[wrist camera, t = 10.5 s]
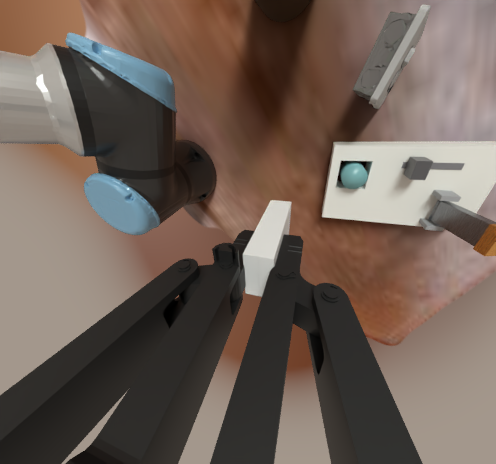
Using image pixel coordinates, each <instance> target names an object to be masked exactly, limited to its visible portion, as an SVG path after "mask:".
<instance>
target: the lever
mask: <svg viewBox="0 0 496 464" xmlns="http://www.w3.org/2000/svg"><path fill="white" fill-rule="evenodd" d="M428 220H430V221H433V222H434V223H436V224H438V225H439V226H441V227H443V228H444V229H446V230H448V231H449V232H451V233H453V234H454V235H456V236H458V237H460V238H461V239H463V240H465V241H466V242H468V243H470V244H471V245H473V246H475V247H474V248H473V249H474V250H475V251H477V252H479V253H480V254H482V255H484V256H496V222H494V221H492V220H489V219H487V218H485V217H483V216H481V215H478V214H476V213H474V212H472V211H470V210H467V209H465V208H463V207H461V206H458V205H456V204H454V203H452V202H450V201H439V200H437V202H436V204H435V206H434V208H433V210H432V212H431V214H430V216H429V218H428Z"/></svg>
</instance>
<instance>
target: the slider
mask: <svg viewBox="0 0 496 464" xmlns="http://www.w3.org/2000/svg"><path fill="white" fill-rule="evenodd" d="M432 164H433V161H432V160H430V159H428V158H426V157H410V158H409V160H408V163H407V166H406V168H405V171H404V175H405V176H406V177H407V178H408V179H410V180H425V179H426V177H427V175H428V173H429V170H430V168H431V166H432Z"/></svg>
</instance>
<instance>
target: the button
mask: <svg viewBox="0 0 496 464" xmlns="http://www.w3.org/2000/svg"><path fill="white" fill-rule="evenodd" d="M340 176H341V180H342V183H343V185H344V186H345V187H346V188H348V189H357V188H359V187H361V186H363V185H364V184H365V182H366V181H367V177H368V174H367V171H366V170H365V168H364V167H363V165H362V164H361V163H360V162H359V161H347V162H345V163H344V164H343V165H342V166H341V168H340Z"/></svg>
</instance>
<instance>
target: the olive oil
mask: <svg viewBox="0 0 496 464" xmlns="http://www.w3.org/2000/svg"><path fill="white" fill-rule="evenodd" d="M255 1H256V3H257V4H258V6H259V7H260V8H261V10H262V11H263V12H264V13H265V15H266V16H267V17H269V18H270V19H272V20H274V21H277V22H286V21H289V20H292V19H293V18H295V17H297V16H298V15H299V14H300V13H301V12H302V11H303V10H304V9H305V8H306V7H307V5H308V4H309V2H310V0H255Z"/></svg>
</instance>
